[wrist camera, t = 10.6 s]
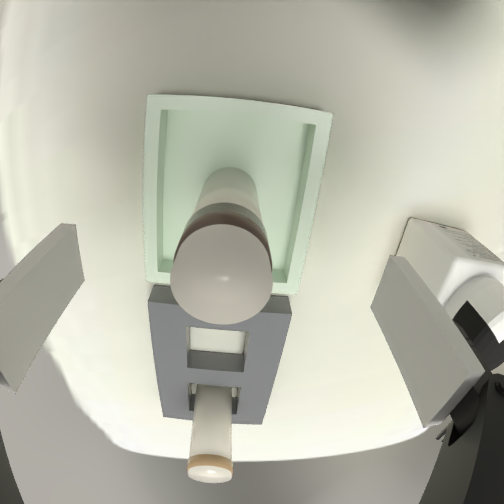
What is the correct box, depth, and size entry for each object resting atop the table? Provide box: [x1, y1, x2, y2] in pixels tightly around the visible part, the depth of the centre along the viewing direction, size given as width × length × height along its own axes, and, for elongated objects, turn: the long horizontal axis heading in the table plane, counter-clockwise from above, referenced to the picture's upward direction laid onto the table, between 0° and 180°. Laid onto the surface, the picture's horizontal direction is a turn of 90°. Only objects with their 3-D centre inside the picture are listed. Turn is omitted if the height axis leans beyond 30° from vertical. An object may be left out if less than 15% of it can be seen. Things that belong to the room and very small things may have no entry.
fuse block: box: [148, 285, 292, 424], centre depth 30 cm, size 18×12×2 cm, turn 173°
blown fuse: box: [170, 167, 273, 325], centre depth 17 cm, size 4×4×12 cm
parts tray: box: [143, 95, 333, 295], centre depth 22 cm, size 14×12×2 cm
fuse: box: [187, 384, 233, 483], centre depth 28 cm, size 4×4×12 cm
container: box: [396, 218, 504, 371], centre depth 21 cm, size 8×8×13 cm
